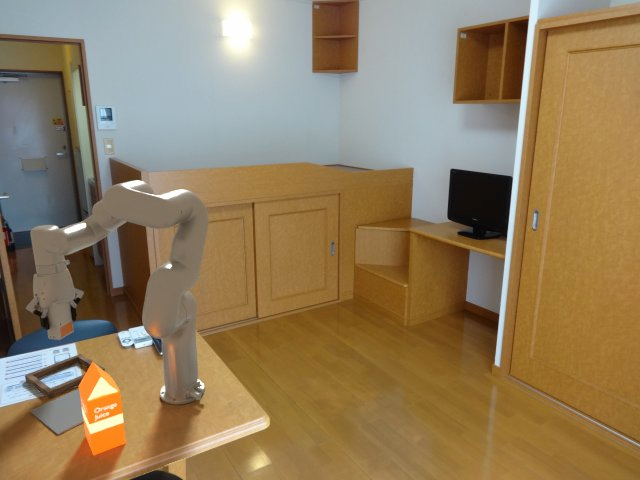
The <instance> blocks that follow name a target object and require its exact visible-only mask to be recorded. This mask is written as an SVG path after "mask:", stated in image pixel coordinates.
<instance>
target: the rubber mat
mask: <svg viewBox="0 0 640 480" xmlns="http://www.w3.org/2000/svg"><path fill="white" fill-rule="evenodd" d="M29 413H31V415H33V416H34V417H35V418H37V419H38V420H39V421H40V422H41V423H42V424H44V425H45V426H46V427H47V428H49V429H50V430H51V431H52V432H53V433H55V434H56V435H57V436H60V435H61V434H64V433H65V432H67V431H69V430H71V429H73V428H75V427H79V425H82V424H84V420H83V414H82V405H81V397H80V390H79V388H78V389H76V390H73V391H71V392H69V393H67V394H64V395H62V396H60V397H58V398H56V399H54V400H53V399H52V400H51V401H48V402H46V403H44V404H42V405H38V406H37V407H35V408H32V409H31V410H29Z"/></svg>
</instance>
